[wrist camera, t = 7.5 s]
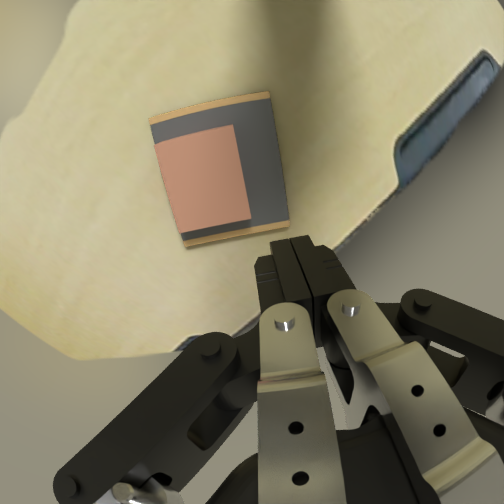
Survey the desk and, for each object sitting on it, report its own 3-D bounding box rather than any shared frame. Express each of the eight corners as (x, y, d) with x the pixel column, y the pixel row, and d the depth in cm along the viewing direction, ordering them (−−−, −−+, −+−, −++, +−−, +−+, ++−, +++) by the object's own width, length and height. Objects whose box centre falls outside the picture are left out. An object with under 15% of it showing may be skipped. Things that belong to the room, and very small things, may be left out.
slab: (232, 124, 26) (160, 141, 27) (233, 125, 24) (154, 145, 24) (249, 209, 31) (183, 223, 32) (251, 218, 29) (179, 233, 29)
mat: (150, 118, 26) (148, 118, 25) (268, 91, 25) (268, 91, 25) (185, 244, 34) (184, 246, 33) (289, 224, 33) (290, 226, 33)
